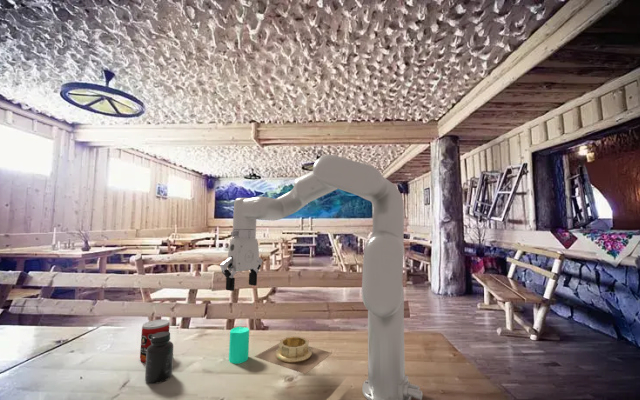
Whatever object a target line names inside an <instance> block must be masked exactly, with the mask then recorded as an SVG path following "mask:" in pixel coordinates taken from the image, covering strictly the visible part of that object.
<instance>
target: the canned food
mask: <svg viewBox="0 0 640 400" xmlns="http://www.w3.org/2000/svg"><path fill="white" fill-rule="evenodd" d="M170 322H171V321H170V320H168V319H166V318H165V319H164V318H163V319H160V318H159V319H154V320H150V321H146V322H145V323H143V324H142V327H141V337H140V339H141V340H140V352H139V359H140V361H141V362H142V363H146V352H147V348H148V347H149V346H150V345H151V336H152V335H153V334H156V333H159V332H170V324H171V323H170Z"/></svg>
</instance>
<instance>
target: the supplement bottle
mask: <svg viewBox="0 0 640 400" xmlns="http://www.w3.org/2000/svg"><path fill="white" fill-rule="evenodd" d="M173 363H174V343H173V342H172V341H171V331H169V332H159V333H156V334H153V335H152V336H151V345H150V346H149V347H148V348H147V352H146V362H145V371H144V372H145V373H144V381H145V382H146V383H148V384H154V385H155V384H159V383H163V382H165V381H166V380H168V379H170V378H171V376H172V374H173V365H174V364H173Z"/></svg>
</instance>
